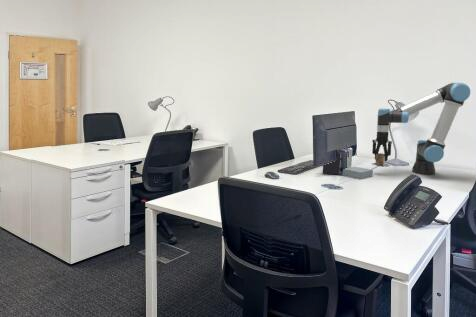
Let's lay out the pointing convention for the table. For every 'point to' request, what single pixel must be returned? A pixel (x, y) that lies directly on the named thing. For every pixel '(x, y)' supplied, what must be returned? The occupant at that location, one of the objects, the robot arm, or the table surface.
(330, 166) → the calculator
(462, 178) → the table surface
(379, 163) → the walnut block
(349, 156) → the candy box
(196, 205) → the table surface
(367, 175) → the slate base
